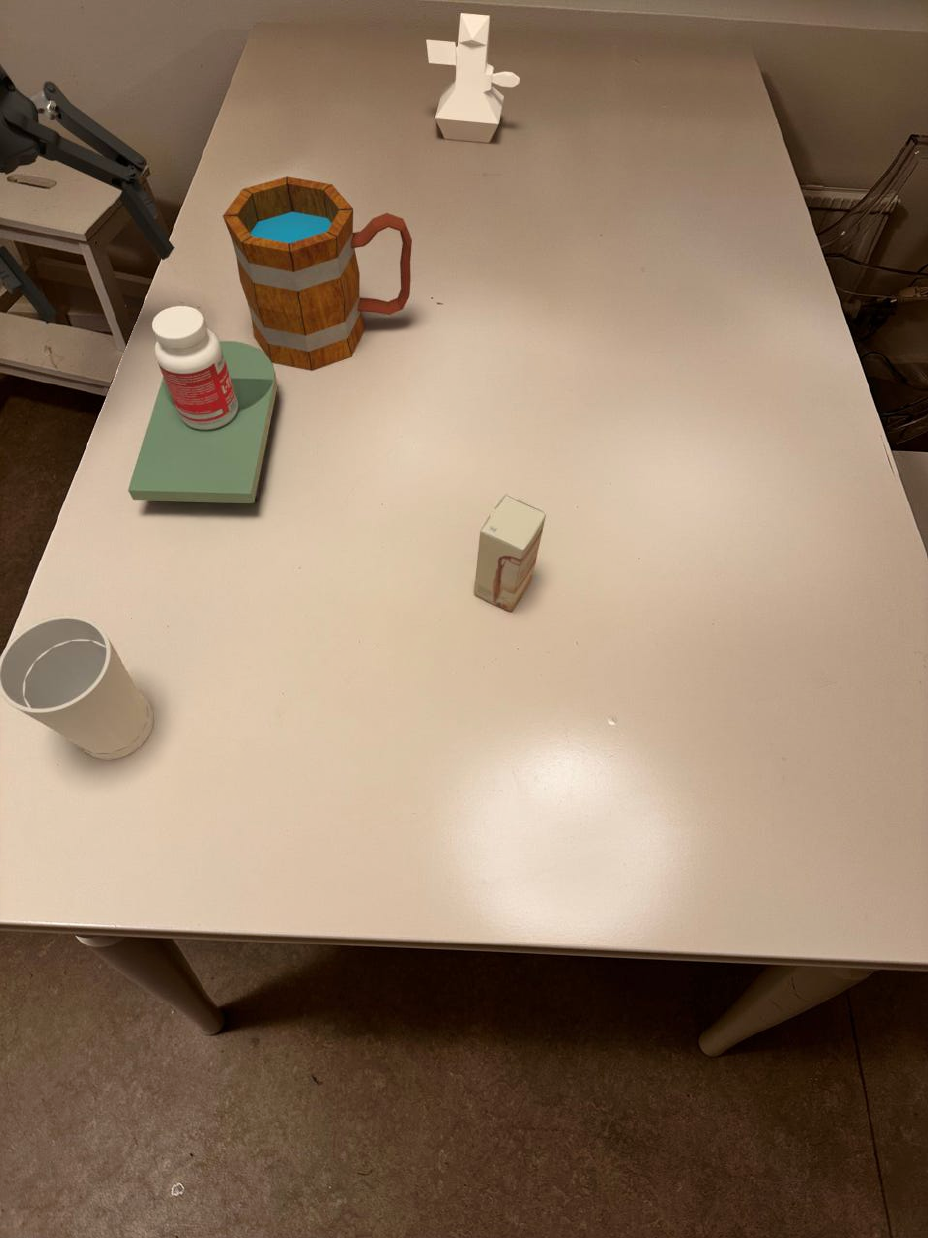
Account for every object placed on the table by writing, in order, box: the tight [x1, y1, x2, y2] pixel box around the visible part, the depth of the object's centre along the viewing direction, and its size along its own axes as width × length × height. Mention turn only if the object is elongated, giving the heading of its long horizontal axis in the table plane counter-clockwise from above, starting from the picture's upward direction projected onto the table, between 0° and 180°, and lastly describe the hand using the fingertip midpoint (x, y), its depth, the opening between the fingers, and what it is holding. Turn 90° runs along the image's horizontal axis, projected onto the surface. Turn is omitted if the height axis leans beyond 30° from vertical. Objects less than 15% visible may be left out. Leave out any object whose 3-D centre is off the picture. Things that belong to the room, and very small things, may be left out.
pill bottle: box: [151, 305, 238, 430], centre depth 73 cm, size 6×6×11 cm
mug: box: [222, 175, 413, 371], centre depth 84 cm, size 20×14×15 cm
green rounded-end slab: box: [127, 340, 278, 504], centre depth 80 cm, size 22×12×4 cm, turn 179°
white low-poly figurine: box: [426, 12, 521, 144], centre depth 109 cm, size 8×14×14 cm, turn 83°
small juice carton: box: [473, 493, 547, 612], centre depth 68 cm, size 5×4×10 cm
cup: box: [0, 614, 155, 761], centre depth 59 cm, size 8×8×12 cm
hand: (112, 285), depth 73 cm, fingers open, 13 cm apart
